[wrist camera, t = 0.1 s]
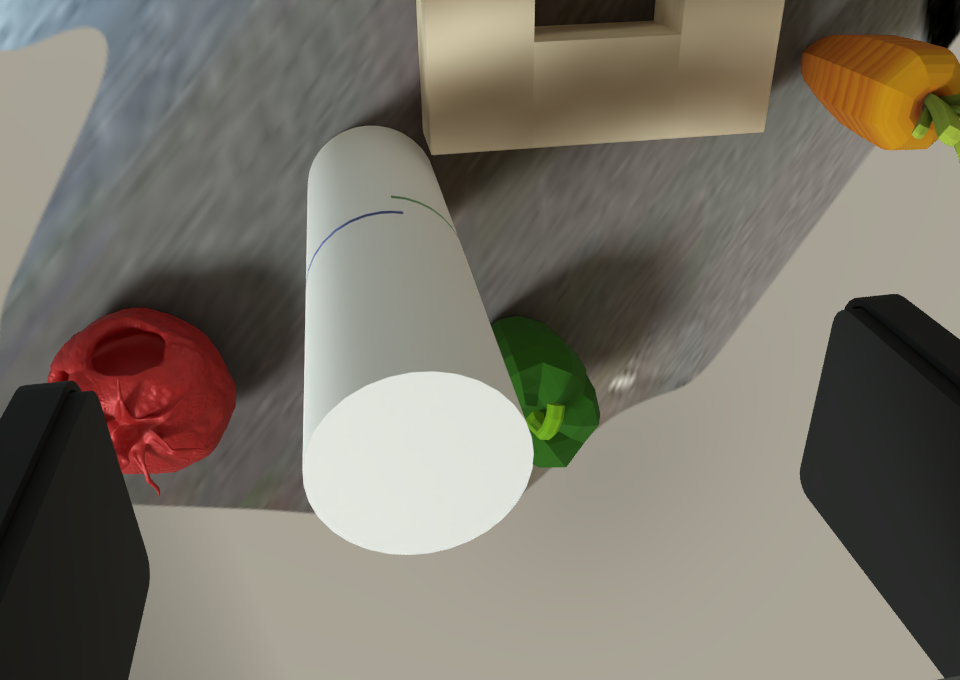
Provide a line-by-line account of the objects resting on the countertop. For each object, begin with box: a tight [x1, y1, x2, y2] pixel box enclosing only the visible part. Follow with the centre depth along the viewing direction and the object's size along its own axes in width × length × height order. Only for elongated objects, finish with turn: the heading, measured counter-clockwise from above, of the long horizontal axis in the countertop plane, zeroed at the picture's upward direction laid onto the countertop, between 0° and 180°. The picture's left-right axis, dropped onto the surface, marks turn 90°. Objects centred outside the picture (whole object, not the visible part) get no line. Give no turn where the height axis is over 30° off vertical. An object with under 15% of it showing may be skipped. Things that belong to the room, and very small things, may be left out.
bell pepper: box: [491, 316, 600, 467], centre depth 50 cm, size 8×8×10 cm
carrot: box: [800, 35, 960, 162], centre depth 41 cm, size 5×5×15 cm
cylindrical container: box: [303, 126, 534, 555], centre depth 36 cm, size 7×7×25 cm
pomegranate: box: [48, 308, 236, 496], centre depth 46 cm, size 10×10×9 cm
